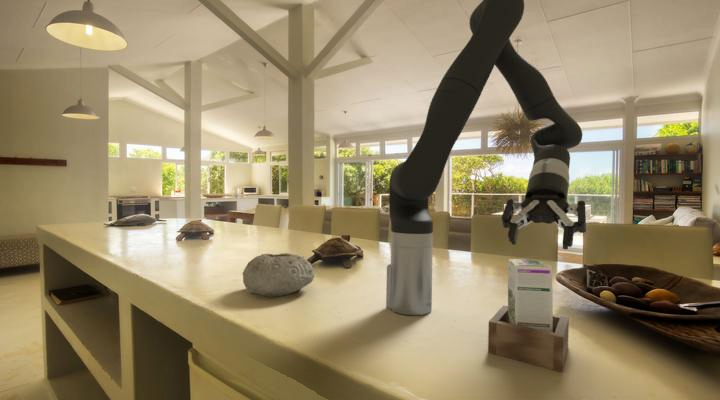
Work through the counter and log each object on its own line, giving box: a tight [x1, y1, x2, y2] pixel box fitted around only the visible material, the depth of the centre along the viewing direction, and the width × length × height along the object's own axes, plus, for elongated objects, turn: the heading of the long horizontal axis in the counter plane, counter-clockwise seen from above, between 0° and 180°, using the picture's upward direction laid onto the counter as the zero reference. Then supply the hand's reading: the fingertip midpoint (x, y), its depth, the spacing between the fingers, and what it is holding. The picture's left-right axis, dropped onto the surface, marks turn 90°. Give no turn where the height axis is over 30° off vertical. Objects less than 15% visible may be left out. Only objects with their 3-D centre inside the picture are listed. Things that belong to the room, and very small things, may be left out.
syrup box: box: [507, 258, 554, 332], centre depth 56 cm, size 6×6×14 cm
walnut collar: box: [487, 305, 570, 373], centre depth 56 cm, size 10×10×5 cm
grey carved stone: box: [242, 252, 315, 297], centre depth 88 cm, size 18×18×10 cm
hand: (538, 244), depth 62 cm, fingers open, 8 cm apart
